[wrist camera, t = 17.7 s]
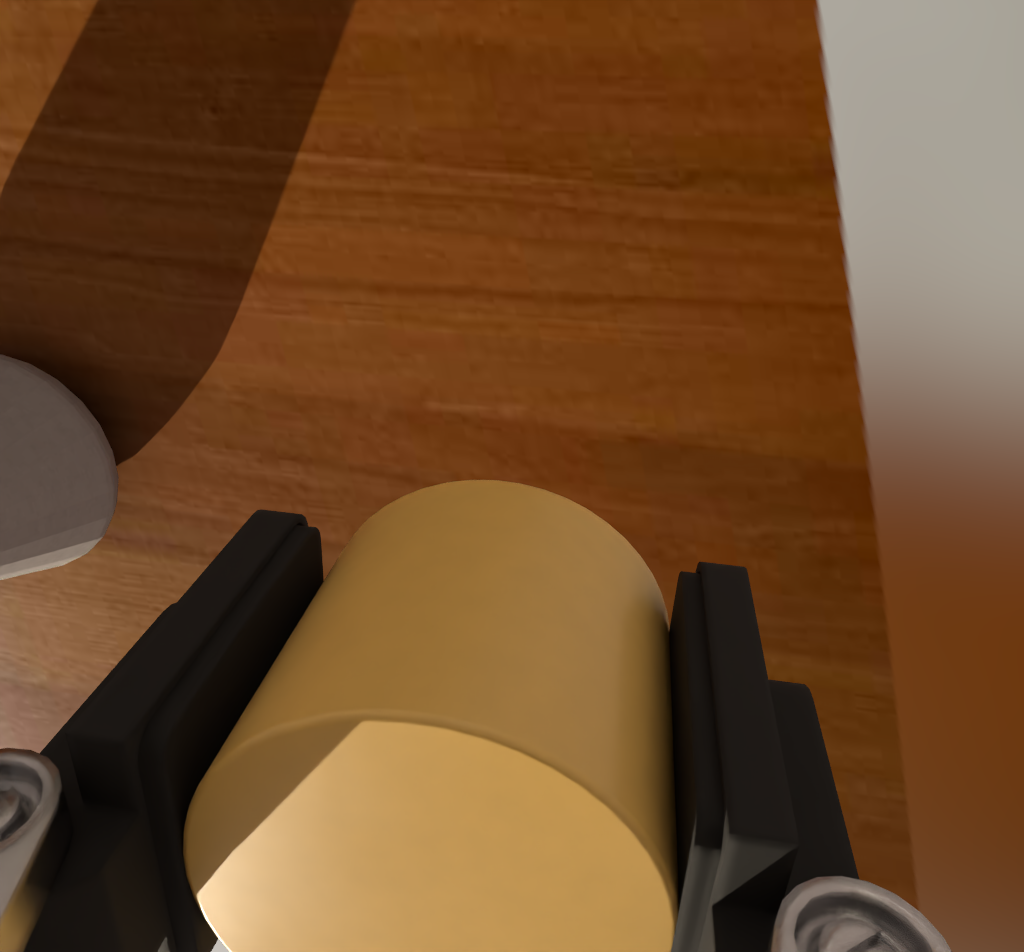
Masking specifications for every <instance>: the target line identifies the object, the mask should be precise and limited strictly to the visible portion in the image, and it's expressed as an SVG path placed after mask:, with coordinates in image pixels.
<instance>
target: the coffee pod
mask: <svg viewBox="0 0 1024 952" xmlns="http://www.w3.org/2000/svg"><path fill="white" fill-rule="evenodd" d="M183 857H184V863H185V870H186V876H187V879H188V882H189V885H190V888H191V891H192V894H193V897H194V899H195V901H196V903H197V905H198V907H199V909H200V911H201V912H202V914H203V916H204V918H205V920H206V921H207V923H208V924H209V926H210V927H211V928H212V930H213V931H214V933H215V934H216V936H217V937H218V939H219V940H220V941H221V942H222V943H223V944H224V945H225V947H226V948H227V949H228V950H229V951H230V952H671V948H672V944H673V939H674V934H675V929H676V924H677V919H678V910H679V888H678V861H677V834H676V807H675V780H674V753H673V726H672V700H671V673H670V646H669V622H668V615H667V610H666V607H665V603H664V600H663V597H662V593H661V591H660V589H659V587H658V585H657V583H656V580H655V578H654V576H653V574H652V573H651V571H650V570H649V568H648V566H647V565H646V563H645V562H644V560H643V559H642V557H641V556H640V555H639V554H638V552H637V551H636V550H635V549H634V548H633V547H632V546H631V545H630V543H629V542H628V541H627V540H626V539H625V538H624V537H623V536H622V535H621V534H620V533H618V532H617V531H616V530H615V529H614V528H613V527H612V526H610V525H609V524H608V523H607V522H606V521H604V520H603V519H601V518H600V517H598V516H597V515H595V514H594V513H592V512H591V511H589V510H588V509H586V508H584V507H582V506H581V505H579V504H577V503H575V502H573V501H571V500H569V499H567V498H565V497H562V496H559V495H557V494H554V493H552V492H549V491H546V490H544V489H540V488H536V487H532V486H528V485H524V484H520V483H513V482H505V481H498V480H466V481H457V482H448V483H444V484H439V485H435V486H431V487H427V488H423V489H421V490H418V491H415V492H413V493H410V494H408V495H405V496H403V497H401V498H399V499H397V500H395V501H394V502H392V503H390V504H388V505H386V506H385V507H383V508H382V509H381V510H379V511H378V512H377V513H375V514H374V515H373V516H371V517H370V518H369V519H368V520H367V521H366V522H365V523H364V524H363V525H362V526H361V527H360V528H359V529H358V530H357V531H356V532H355V534H354V535H353V536H352V538H351V539H350V541H349V542H348V543H347V545H346V546H345V548H344V549H343V551H342V553H341V554H340V556H339V557H338V559H337V561H336V562H335V564H334V566H333V567H332V569H331V570H330V572H329V574H328V575H327V577H326V579H325V580H324V582H323V583H322V585H321V587H320V588H319V590H318V592H317V593H316V595H315V596H314V598H313V600H312V601H311V603H310V605H309V606H308V608H307V609H306V611H305V613H304V614H303V616H302V618H301V619H300V621H299V622H298V624H297V626H296V627H295V629H294V631H293V632H292V634H291V635H290V637H289V639H288V640H287V642H286V644H285V645H284V647H283V648H282V650H281V652H280V653H279V655H278V657H277V658H276V660H275V661H274V663H273V665H272V666H271V668H270V670H269V671H268V673H267V674H266V676H265V678H264V679H263V681H262V683H261V684H260V686H259V687H258V689H257V691H256V692H255V694H254V695H253V697H252V699H251V700H250V702H249V704H248V705H247V707H246V708H245V710H244V712H243V713H242V715H241V717H240V718H239V720H238V721H237V723H236V725H235V726H234V728H233V730H232V731H231V733H230V734H229V736H228V738H227V739H226V741H225V743H224V744H223V746H222V747H221V749H220V751H219V752H218V754H217V756H216V757H215V759H214V760H213V762H212V764H211V765H210V767H209V769H208V770H207V772H206V773H205V775H204V777H203V778H202V780H201V782H200V783H199V785H198V787H197V789H196V791H195V793H194V796H193V798H192V800H191V802H190V804H189V808H188V812H187V816H186V821H185V825H184V835H183Z"/></svg>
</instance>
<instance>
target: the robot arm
mask: <svg viewBox="0 0 1024 952" xmlns="http://www.w3.org/2000/svg"><path fill="white" fill-rule="evenodd" d="M323 582H324V581H323V565H322V550H321V537H320V532H319V530H318V529H317V528H316V527H308V523H307V521H306V518H305V517H304V516H303V515H302V514H294V513H285V512H277V511H268V510H257V511H256V512H255V513H254V514H253V515H252V516H251V517H250V518H249V519H248V521H247V522H246V523H245V524H244V525H243V526H242V528H241V529H240V530H239V531H238V532H237V533H236V535H235V536H234V537H233V538H232V539H231V540H230V542H229V543H228V544H227V545H226V546H225V547H224V549H223V550H222V551H221V552H220V553H219V554H218V556H217V557H216V558H215V559H214V560H213V561H212V563H211V564H210V565H209V566H208V567H207V568H206V569H205V571H204V572H203V573H202V574H201V575H200V576H199V578H198V579H197V580H196V581H195V582H194V583H193V585H192V586H191V587H190V588H189V589H188V590H187V592H186V593H185V594H184V595H183V596H182V597H181V599H180V600H179V601H178V602H177V603H174V604H172V605H170V606H169V607H168V608H167V609H166V610H165V611H163V612H162V614H161V615H160V616H159V617H158V618H157V619H156V621H155V622H154V623H153V624H152V625H151V626H150V627H149V629H148V630H147V631H146V632H145V633H144V634H143V635H142V637H141V638H140V639H139V640H138V641H137V642H136V643H135V645H134V646H133V647H132V648H131V649H130V650H129V652H128V653H127V654H126V655H125V656H124V657H123V658H122V660H121V661H120V662H119V663H118V664H117V665H116V666H115V668H114V669H113V670H112V671H111V672H110V673H109V674H108V676H107V677H106V678H105V679H104V680H103V681H102V683H101V684H100V685H99V686H98V687H97V688H96V689H95V691H94V692H93V693H92V694H91V695H90V696H89V697H88V699H87V700H86V701H85V702H84V703H83V704H82V705H81V707H80V708H79V709H78V710H77V711H76V712H75V714H74V715H73V716H72V717H71V718H70V719H69V720H68V722H67V723H66V724H65V725H64V726H63V727H62V728H61V730H60V731H59V732H58V733H57V734H56V735H55V736H54V738H53V739H52V740H51V741H50V742H49V743H48V745H47V746H46V747H45V748H44V749H43V750H42V751H41V753H40V754H39V753H36V752H34V751H32V750H24V749H13V748H5V749H0V952H211V951H212V949H213V947H214V945H215V944H216V942H217V940H218V937H217V936H216V934H215V933H214V931H213V930H212V928H211V927H210V926H209V924H208V923H207V921H206V920H205V918H204V916H203V914H202V912H201V911H200V909H199V907H198V905H197V903H196V901H195V899H194V897H193V894H192V891H191V888H190V885H189V882H188V879H187V876H186V870H185V863H184V857H183V835H184V825H185V821H186V816H187V812H188V808H189V804H190V802H191V800H192V798H193V796H194V793H195V791H196V789H197V787H198V785H199V783H200V782H201V780H202V778H203V777H204V775H205V773H206V772H207V770H208V769H209V767H210V765H211V764H212V762H213V760H214V759H215V757H216V756H217V754H218V752H219V751H220V749H221V747H222V746H223V744H224V743H225V741H226V739H227V738H228V736H229V734H230V733H231V731H232V730H233V728H234V726H235V725H236V723H237V721H238V720H239V718H240V717H241V715H242V713H243V712H244V710H245V708H246V707H247V705H248V704H249V702H250V700H251V699H252V697H253V695H254V694H255V692H256V691H257V689H258V687H259V686H260V684H261V683H262V681H263V679H264V678H265V676H266V674H267V673H268V671H269V670H270V668H271V666H272V665H273V663H274V661H275V660H276V658H277V657H278V655H279V653H280V652H281V650H282V648H283V647H284V645H285V644H286V642H287V640H288V639H289V637H290V635H291V634H292V632H293V631H294V629H295V627H296V626H297V624H298V622H299V621H300V619H301V618H302V616H303V614H304V613H305V611H306V609H307V608H308V606H309V605H310V603H311V601H312V600H313V598H314V596H315V595H316V593H317V592H318V590H319V588H320V587H321V585H322V583H323ZM669 646H670V673H671V700H672V726H673V753H674V780H675V807H676V834H677V861H678V888H679V910H678V919H677V924H676V929H675V934H674V939H673V944H672V948H671V952H951V950H950V948H949V946H948V945H947V943H946V941H945V939H944V938H943V936H942V935H941V934H940V933H939V932H938V931H937V930H936V929H935V927H933V925H932V924H931V923H930V922H929V921H928V920H927V919H926V918H925V917H924V916H923V915H922V913H921V912H919V911H918V910H916V909H915V908H914V907H912V906H911V905H910V904H908V903H907V902H905V901H904V900H903V899H901V898H900V897H898V896H897V895H896V894H894V893H892V892H890V891H887V890H885V889H883V888H881V887H879V886H876V885H874V884H872V883H870V882H867V881H863V880H859V877H858V873H857V869H856V865H855V861H854V857H853V853H852V849H851V845H850V842H849V838H848V834H847V830H846V826H845V822H844V818H843V814H842V810H841V806H840V803H839V799H838V795H837V791H836V787H835V783H834V779H833V775H832V771H831V767H830V764H829V760H828V756H827V752H826V748H825V744H824V740H823V736H822V732H821V728H820V724H819V721H818V717H817V713H816V709H815V705H814V701H813V698H812V695H811V692H810V690H809V688H808V687H807V686H806V685H805V684H797V683H790V682H782V681H775V680H768V676H767V671H766V666H765V661H764V656H763V650H762V645H761V640H760V635H759V630H758V624H757V619H756V614H755V609H754V604H753V598H752V593H751V588H750V583H749V578H748V573H747V569H746V568H745V567H740V566H732V565H723V564H715V563H706V562H699V563H698V566H697V569H696V573H690V572H682V571H681V572H680V574H679V578H678V583H677V589H676V595H675V601H674V606H673V612H672V618H671V624H670V630H669Z"/></svg>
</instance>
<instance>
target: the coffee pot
mask: <svg viewBox="0 0 1024 952" xmlns="http://www.w3.org/2000/svg"><path fill="white" fill-rule="evenodd" d="M117 492H118V473H117V468H116V464H115V459H114V455H113V451H112V449H111V447H110V445H109V442H108V440H107V438H106V436H105V434H104V432H103V430H102V428H101V426H100V424H99V423H98V421H97V420H96V419H95V418H94V416H93V415H92V414H91V412H90V411H89V410H88V409H87V407H86V406H85V405H84V403H83V402H82V401H81V400H80V399H79V398H78V397H77V396H75V395H74V394H73V393H72V392H71V391H70V390H69V389H67V388H66V387H65V386H64V385H63V384H62V383H61V382H59V381H58V380H57V379H55V378H54V377H52V376H50V375H49V374H47V373H45V372H43V371H42V370H40V369H38V368H36V367H35V366H33V365H31V364H29V363H26V362H23V361H20V360H17V359H14V358H11V357H8V356H5V355H2V354H0V580H2V579H6V578H11V577H15V576H19V575H24V574H28V573H32V572H37V571H41V570H45V569H49V568H54V567H58V566H62V565H65V564H67V563H69V562H71V561H73V560H75V559H77V558H79V557H81V556H83V555H85V554H87V553H88V552H89V551H90V550H91V549H92V548H93V547H94V546H95V545H96V544H97V543H98V542H99V540H100V539H101V538H102V537H103V536H104V535H105V533H106V531H107V528H108V526H109V523H110V521H111V518H112V516H113V514H114V511H115V507H116V502H117Z"/></svg>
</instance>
